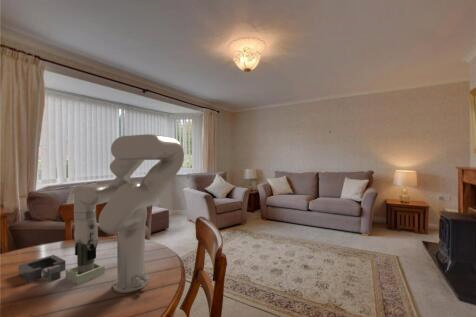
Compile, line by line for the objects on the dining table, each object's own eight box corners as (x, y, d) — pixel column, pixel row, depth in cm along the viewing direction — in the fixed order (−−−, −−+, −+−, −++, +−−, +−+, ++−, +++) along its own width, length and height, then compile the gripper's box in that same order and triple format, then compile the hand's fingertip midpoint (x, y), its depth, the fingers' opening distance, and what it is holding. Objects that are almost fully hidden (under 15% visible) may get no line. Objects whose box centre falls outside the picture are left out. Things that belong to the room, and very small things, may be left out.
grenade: (85, 268, 97) (85, 233, 97) (97, 269, 96) (98, 234, 96) (72, 276, 91) (72, 238, 91) (86, 277, 90) (86, 239, 90)
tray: (104, 273, 95) (104, 265, 95) (77, 284, 87) (77, 276, 87) (92, 267, 100) (92, 260, 100) (65, 277, 92) (65, 270, 92)
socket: (65, 269, 99) (65, 260, 99) (29, 282, 88) (29, 272, 88) (53, 263, 105) (53, 254, 105) (18, 274, 95) (18, 265, 95)
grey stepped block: (60, 278, 92) (60, 265, 92) (49, 282, 89) (49, 269, 89) (52, 273, 96) (52, 261, 96) (41, 277, 93) (41, 264, 93)
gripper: (106, 215, 92) (106, 258, 92) (84, 210, 101) (84, 249, 101) (85, 220, 86) (86, 265, 86) (65, 214, 95) (65, 255, 95)
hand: (85, 256), depth 94 cm, fingers open, 9 cm apart
